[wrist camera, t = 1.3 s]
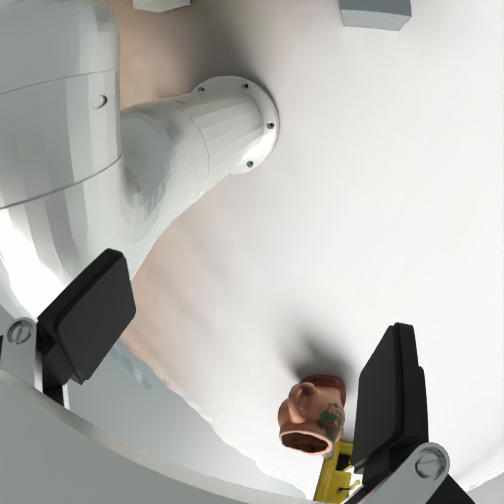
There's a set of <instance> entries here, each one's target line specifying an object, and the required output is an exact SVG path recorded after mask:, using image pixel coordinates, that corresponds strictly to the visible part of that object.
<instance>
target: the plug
mask: <svg viewBox="0 0 504 504" xmlns="http://www.w3.org/2000/svg"><path fill="white" fill-rule="evenodd" d="M187 5H191V4H190V0H133V8H134V9H141V10H147V11H153V12H159V13H161V12H164V11H168V10H171V9H175V8H179V7H183V6H187Z"/></svg>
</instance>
